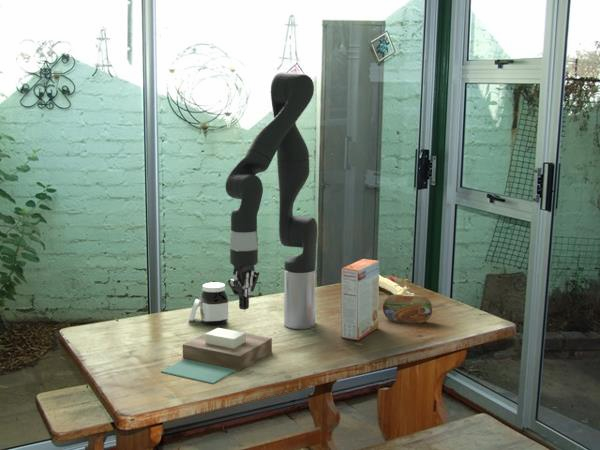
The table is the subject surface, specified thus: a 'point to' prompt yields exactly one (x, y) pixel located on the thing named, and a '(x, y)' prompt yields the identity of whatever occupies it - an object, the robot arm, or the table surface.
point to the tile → (225, 337)
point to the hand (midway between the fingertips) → (243, 308)
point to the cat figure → (394, 286)
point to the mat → (198, 371)
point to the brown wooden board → (228, 352)
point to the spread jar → (212, 304)
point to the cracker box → (359, 299)
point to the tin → (407, 308)
